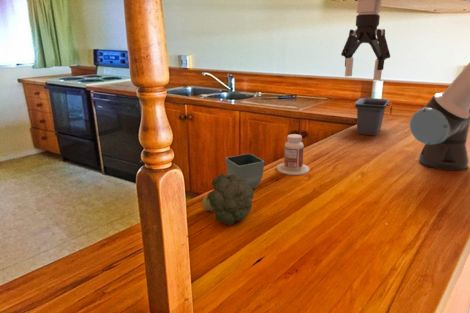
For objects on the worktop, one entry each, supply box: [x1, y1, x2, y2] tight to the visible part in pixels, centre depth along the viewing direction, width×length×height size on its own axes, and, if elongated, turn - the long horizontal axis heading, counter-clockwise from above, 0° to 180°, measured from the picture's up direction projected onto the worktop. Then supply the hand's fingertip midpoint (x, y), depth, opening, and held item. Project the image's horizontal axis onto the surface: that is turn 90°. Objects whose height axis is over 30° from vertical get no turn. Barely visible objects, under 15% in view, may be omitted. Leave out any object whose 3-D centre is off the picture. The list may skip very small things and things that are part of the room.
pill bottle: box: [284, 133, 305, 170], centre depth 125 cm, size 6×6×11 cm
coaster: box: [276, 163, 310, 176], centre depth 127 cm, size 11×11×1 cm
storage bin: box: [354, 97, 393, 136], centre depth 173 cm, size 21×16×14 cm
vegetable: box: [201, 173, 255, 226], centre depth 93 cm, size 12×13×15 cm
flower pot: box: [225, 153, 265, 190], centre depth 111 cm, size 9×9×9 cm
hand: (362, 78), depth 133 cm, fingers open, 13 cm apart
